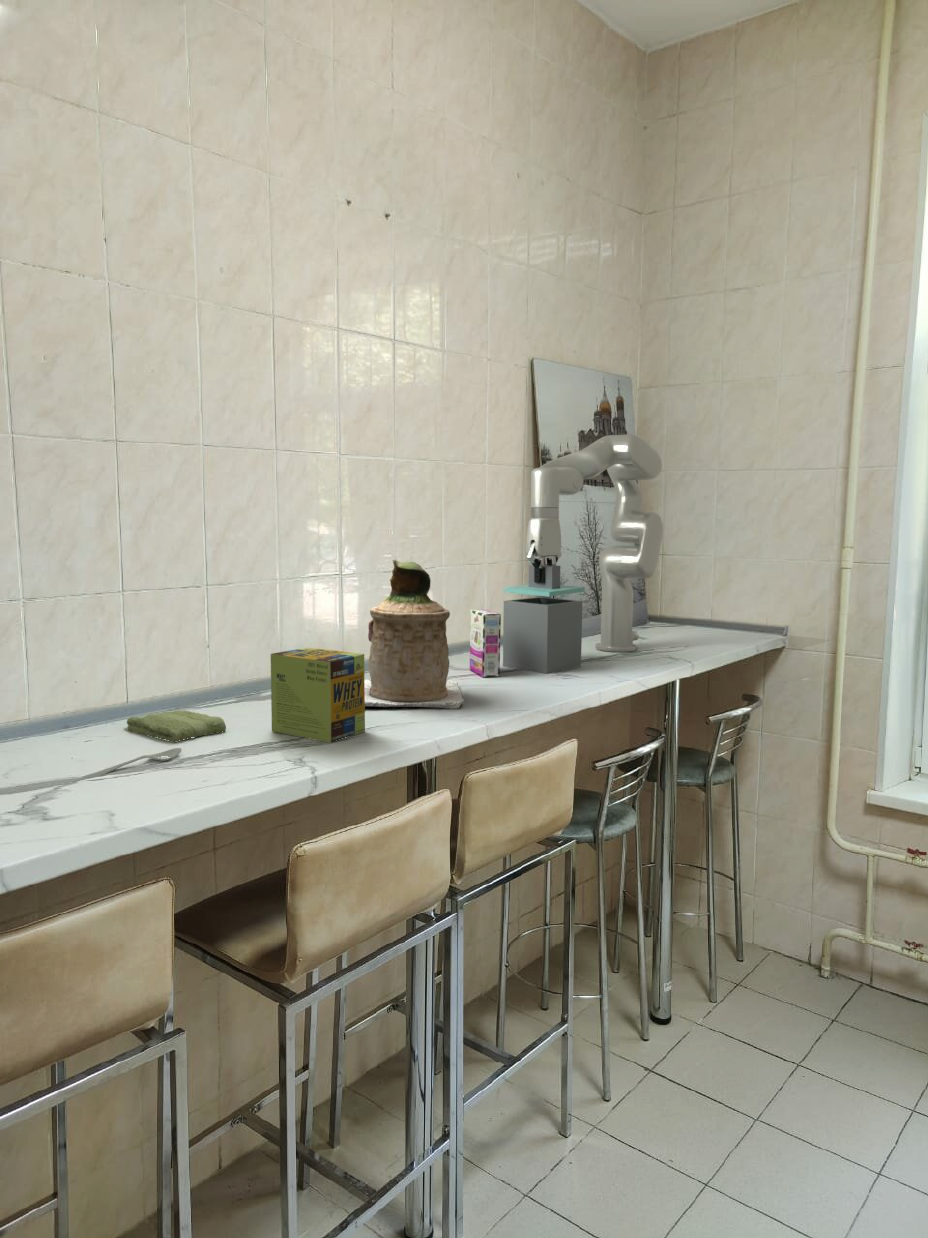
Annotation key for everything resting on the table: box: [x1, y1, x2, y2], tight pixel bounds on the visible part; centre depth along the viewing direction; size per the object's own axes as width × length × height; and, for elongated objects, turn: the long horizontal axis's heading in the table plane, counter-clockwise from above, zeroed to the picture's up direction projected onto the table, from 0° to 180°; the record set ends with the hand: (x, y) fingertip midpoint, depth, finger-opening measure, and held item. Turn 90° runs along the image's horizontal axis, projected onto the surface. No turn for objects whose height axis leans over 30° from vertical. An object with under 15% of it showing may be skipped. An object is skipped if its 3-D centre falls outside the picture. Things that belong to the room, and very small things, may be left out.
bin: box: [502, 596, 583, 674], centre depth 243 cm, size 15×15×18 cm
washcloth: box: [126, 709, 227, 742], centre depth 174 cm, size 13×18×3 cm
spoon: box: [81, 747, 182, 779], centre depth 150 cm, size 4×21×2 cm, turn 140°
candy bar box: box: [469, 609, 502, 678], centre depth 232 cm, size 11×5×16 cm, turn 18°
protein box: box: [270, 647, 366, 743], centre depth 173 cm, size 10×15×16 cm
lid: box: [503, 564, 586, 598], centre depth 242 cm, size 16×16×7 cm
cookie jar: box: [364, 558, 465, 709], centre depth 202 cm, size 25×25×32 cm
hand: (544, 581), depth 242 cm, fingers closed on lid, 3 cm apart
